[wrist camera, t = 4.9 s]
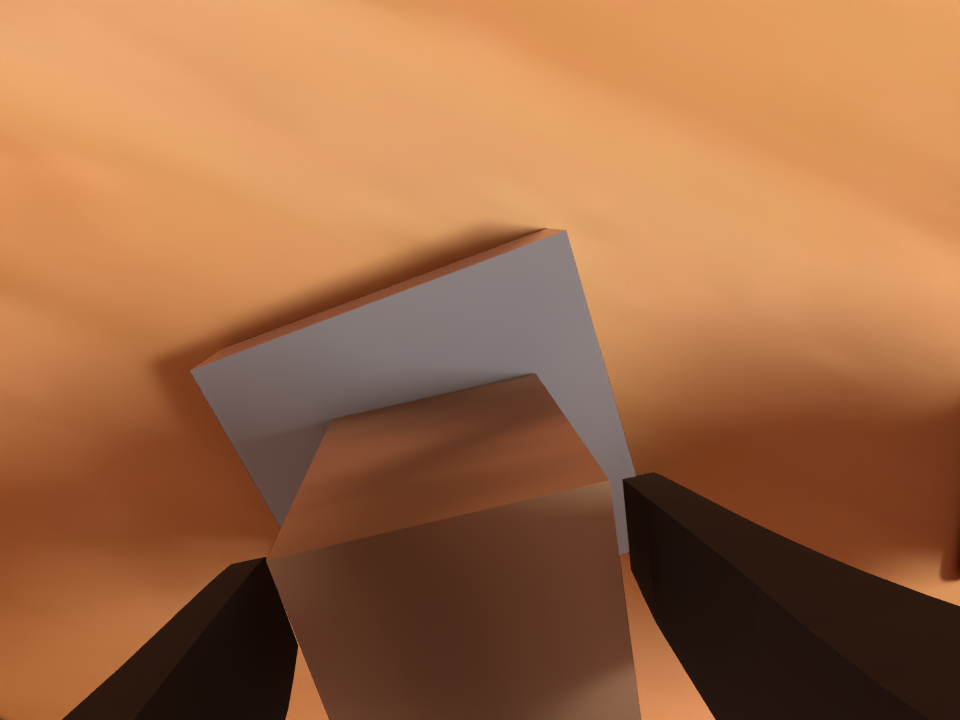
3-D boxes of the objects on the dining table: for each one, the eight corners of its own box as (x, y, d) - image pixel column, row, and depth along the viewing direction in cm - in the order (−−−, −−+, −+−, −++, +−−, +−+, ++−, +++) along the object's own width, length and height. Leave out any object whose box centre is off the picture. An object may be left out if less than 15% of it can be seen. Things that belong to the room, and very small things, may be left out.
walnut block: (536, 373, 12) (609, 480, 7) (565, 543, 13) (642, 726, 9) (331, 418, 12) (265, 560, 7) (384, 586, 13) (360, 798, 8)
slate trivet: (540, 228, 13) (566, 230, 11) (620, 494, 16) (654, 542, 14) (230, 343, 13) (189, 370, 11) (364, 591, 16) (354, 657, 14)
